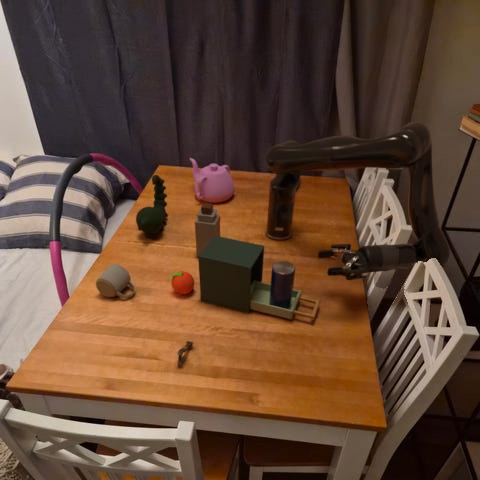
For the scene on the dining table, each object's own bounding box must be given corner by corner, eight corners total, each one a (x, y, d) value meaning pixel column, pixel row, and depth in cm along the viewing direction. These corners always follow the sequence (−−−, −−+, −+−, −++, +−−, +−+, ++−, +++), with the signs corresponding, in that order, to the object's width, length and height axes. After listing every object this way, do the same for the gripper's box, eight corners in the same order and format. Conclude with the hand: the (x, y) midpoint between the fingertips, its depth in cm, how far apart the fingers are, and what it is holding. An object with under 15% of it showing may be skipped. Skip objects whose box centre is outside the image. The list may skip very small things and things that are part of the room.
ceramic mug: (96, 295, 122) (91, 275, 117) (111, 280, 128) (107, 260, 123) (127, 304, 120) (122, 283, 115) (141, 288, 126) (137, 268, 120)
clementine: (169, 300, 122) (167, 281, 117) (168, 286, 127) (166, 267, 122) (196, 297, 123) (194, 278, 118) (193, 283, 128) (192, 265, 123)
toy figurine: (152, 217, 163) (132, 245, 143) (146, 170, 152) (124, 192, 132) (175, 219, 162) (158, 247, 142) (171, 171, 151) (152, 194, 131)
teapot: (207, 180, 187) (205, 150, 178) (245, 193, 178) (246, 161, 169) (174, 197, 174) (171, 165, 164) (214, 211, 164) (213, 178, 155)
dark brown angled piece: (174, 367, 101) (175, 350, 99) (185, 355, 108) (186, 339, 107) (180, 368, 100) (182, 351, 99) (191, 356, 108) (193, 341, 106)
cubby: (261, 289, 126) (264, 245, 115) (248, 313, 118) (250, 268, 107) (216, 279, 130) (215, 235, 119) (200, 301, 122) (198, 256, 111)
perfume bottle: (215, 260, 138) (214, 211, 126) (196, 257, 139) (193, 209, 127) (220, 249, 143) (219, 202, 131) (202, 247, 144) (199, 199, 132)
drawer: (320, 303, 120) (321, 295, 118) (312, 325, 113) (314, 317, 111) (253, 287, 126) (253, 279, 124) (242, 307, 118) (242, 299, 116)
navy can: (272, 294, 122) (276, 258, 114) (293, 299, 121) (298, 263, 112) (266, 307, 118) (269, 270, 109) (287, 312, 116) (292, 276, 107)
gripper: (370, 234, 117) (316, 238, 114) (392, 261, 106) (334, 266, 104) (364, 256, 122) (313, 260, 119) (385, 284, 111) (329, 289, 109)
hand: (323, 263), depth 112 cm, fingers open, 8 cm apart
